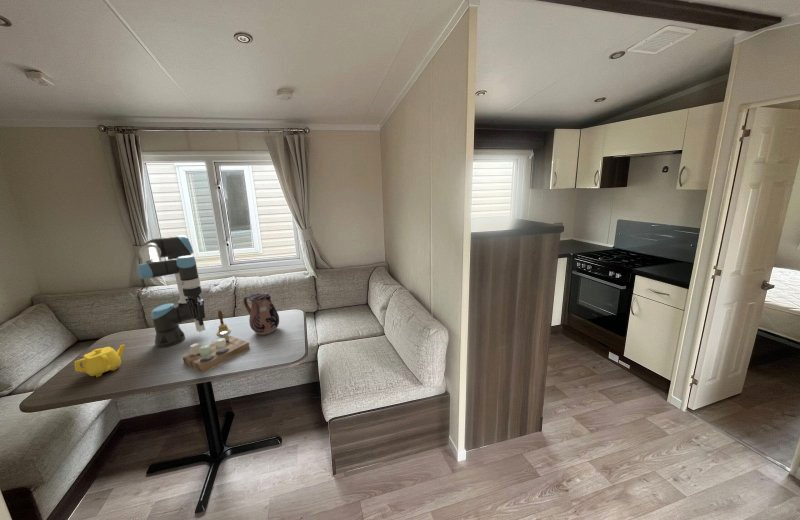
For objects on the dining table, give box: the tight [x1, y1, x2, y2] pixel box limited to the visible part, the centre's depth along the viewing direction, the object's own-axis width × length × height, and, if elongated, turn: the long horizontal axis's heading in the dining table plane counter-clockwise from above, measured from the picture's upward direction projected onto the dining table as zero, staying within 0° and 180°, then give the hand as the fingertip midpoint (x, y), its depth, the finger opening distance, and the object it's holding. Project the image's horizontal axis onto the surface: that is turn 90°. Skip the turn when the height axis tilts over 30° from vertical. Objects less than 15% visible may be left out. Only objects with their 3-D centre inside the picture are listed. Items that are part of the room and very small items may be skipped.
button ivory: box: [214, 337, 227, 349], centre depth 162 cm, size 5×5×4 cm
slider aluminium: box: [219, 331, 229, 341], centre depth 175 cm, size 3×3×5 cm
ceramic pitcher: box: [242, 291, 280, 336], centre depth 191 cm, size 18×21×25 cm
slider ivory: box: [189, 342, 200, 355], centre depth 162 cm, size 3×3×5 cm
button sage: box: [199, 344, 212, 357], centre depth 156 cm, size 5×5×4 cm
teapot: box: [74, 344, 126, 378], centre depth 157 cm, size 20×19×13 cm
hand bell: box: [216, 309, 232, 337], centre depth 193 cm, size 8×8×16 cm
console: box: [182, 335, 250, 373], centre depth 167 cm, size 19×26×4 cm
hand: (200, 330), depth 153 cm, fingers closed
